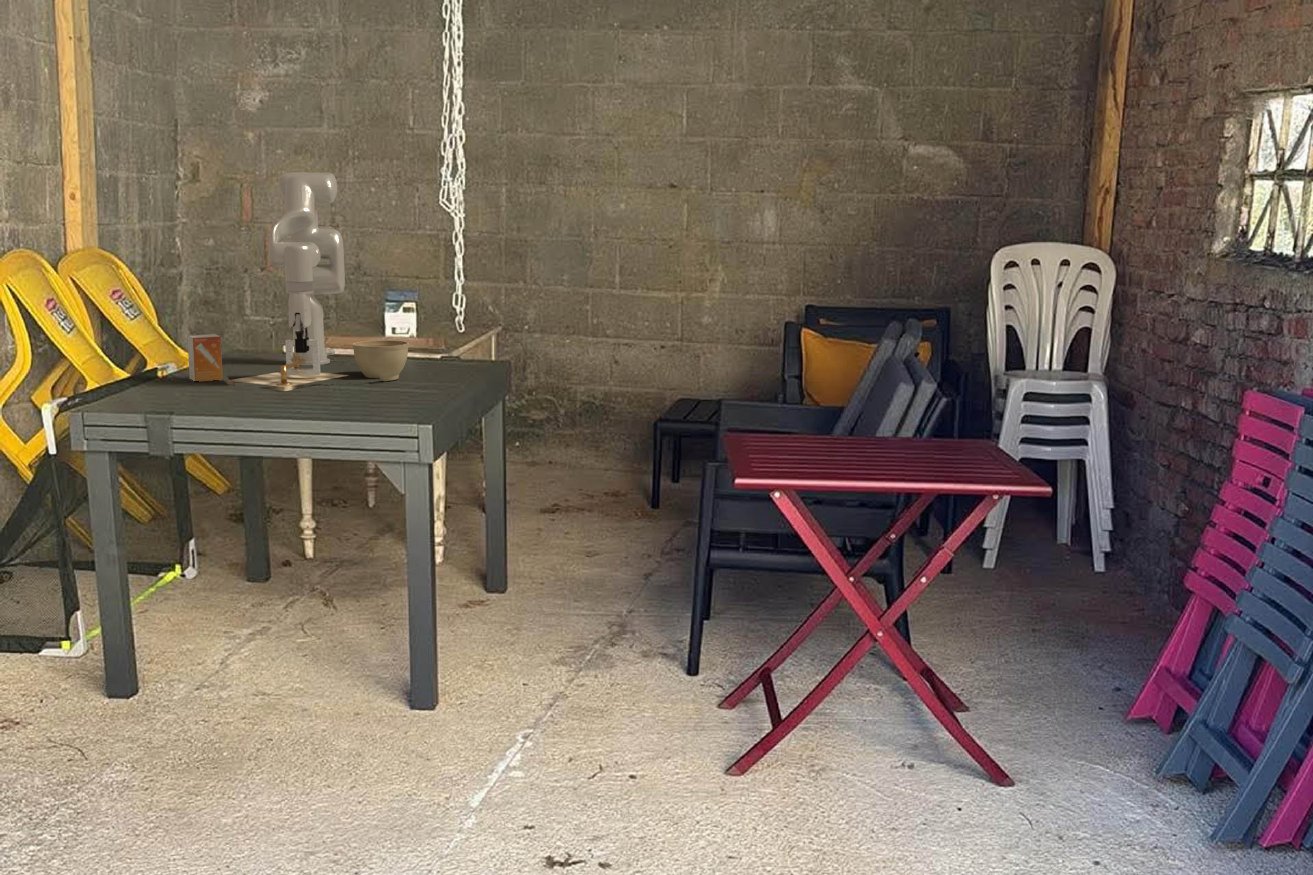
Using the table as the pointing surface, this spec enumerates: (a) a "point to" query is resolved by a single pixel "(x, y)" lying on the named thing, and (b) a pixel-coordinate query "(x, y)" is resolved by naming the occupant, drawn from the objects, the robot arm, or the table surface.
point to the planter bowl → (381, 358)
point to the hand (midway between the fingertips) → (302, 351)
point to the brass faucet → (297, 361)
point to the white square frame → (316, 358)
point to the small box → (205, 357)
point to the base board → (295, 379)
